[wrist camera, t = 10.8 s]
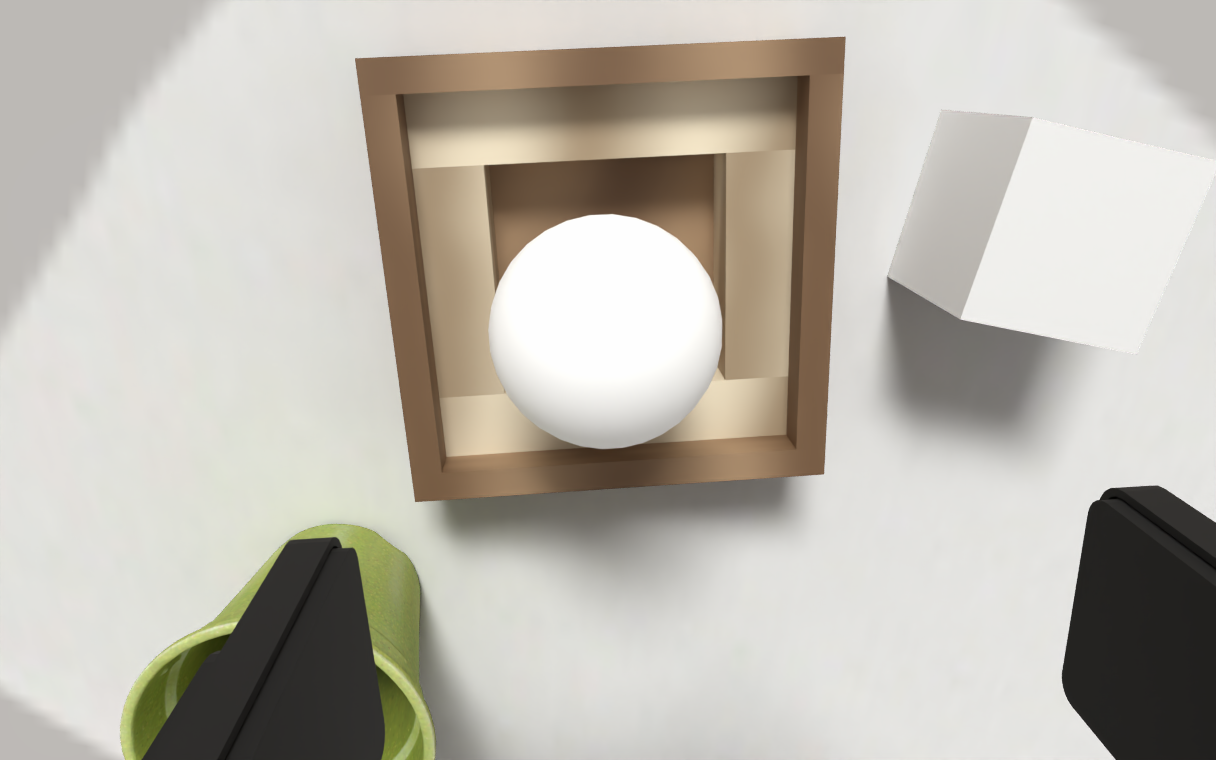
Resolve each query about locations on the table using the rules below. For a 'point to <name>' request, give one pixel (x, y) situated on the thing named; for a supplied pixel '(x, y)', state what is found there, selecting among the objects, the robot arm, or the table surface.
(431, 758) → the plant pot
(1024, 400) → the table surface
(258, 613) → the robot arm
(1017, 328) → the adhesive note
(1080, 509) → the table surface
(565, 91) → the socket box
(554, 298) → the lightbulb
